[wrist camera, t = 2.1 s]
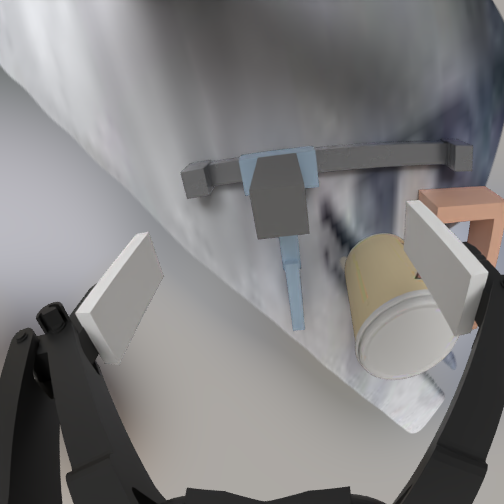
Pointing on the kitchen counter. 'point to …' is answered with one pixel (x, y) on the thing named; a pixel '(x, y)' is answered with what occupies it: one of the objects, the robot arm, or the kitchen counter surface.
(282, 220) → the pusher
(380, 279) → the coffee cup
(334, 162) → the rail
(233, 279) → the kitchen counter surface
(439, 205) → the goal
